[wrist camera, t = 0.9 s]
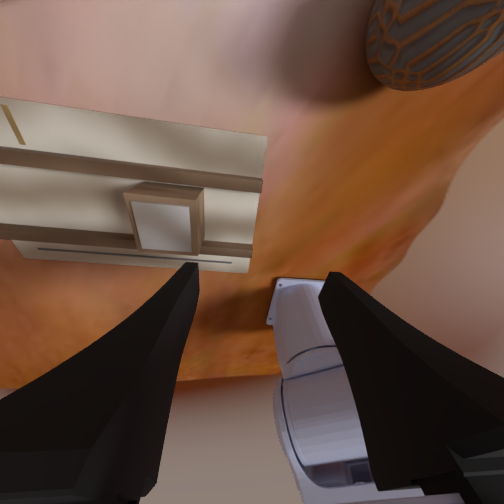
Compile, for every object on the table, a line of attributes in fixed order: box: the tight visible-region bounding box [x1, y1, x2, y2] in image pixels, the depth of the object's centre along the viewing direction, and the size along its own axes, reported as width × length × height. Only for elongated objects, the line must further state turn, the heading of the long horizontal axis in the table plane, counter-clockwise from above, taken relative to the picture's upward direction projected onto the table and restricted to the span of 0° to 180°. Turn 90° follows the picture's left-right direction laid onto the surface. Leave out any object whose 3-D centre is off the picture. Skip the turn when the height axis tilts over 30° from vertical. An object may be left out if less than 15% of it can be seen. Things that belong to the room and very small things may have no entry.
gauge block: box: [123, 181, 205, 256], centre depth 16 cm, size 5×5×4 cm
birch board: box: [0, 97, 268, 273], centre depth 17 cm, size 14×24×2 cm, turn 83°
